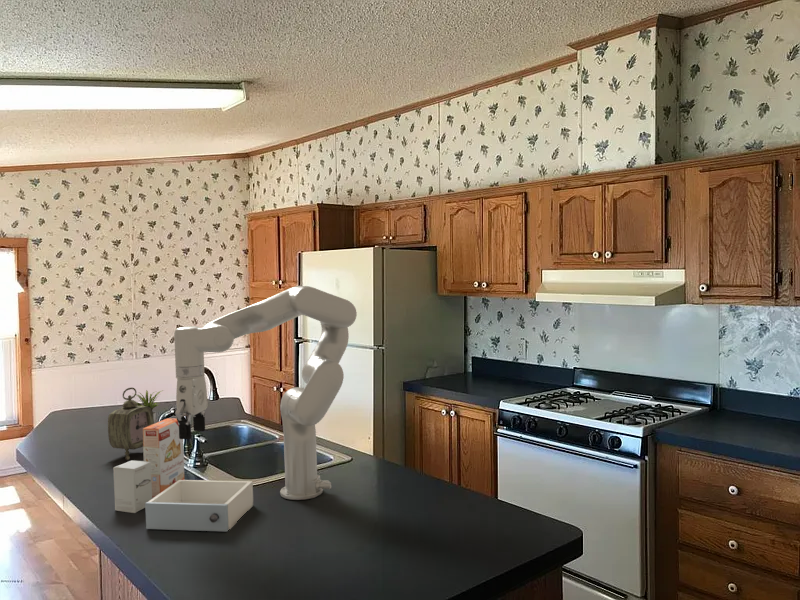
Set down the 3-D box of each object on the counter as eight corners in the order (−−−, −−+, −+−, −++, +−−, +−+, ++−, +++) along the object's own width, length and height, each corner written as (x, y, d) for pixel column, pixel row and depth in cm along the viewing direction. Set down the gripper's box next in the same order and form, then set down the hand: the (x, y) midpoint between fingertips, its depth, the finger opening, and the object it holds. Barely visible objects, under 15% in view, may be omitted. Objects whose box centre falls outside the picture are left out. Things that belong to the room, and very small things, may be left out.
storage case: (253, 505, 193) (252, 481, 192) (228, 530, 175) (227, 504, 175) (180, 503, 196) (179, 479, 195) (148, 528, 178) (147, 501, 178)
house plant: (154, 421, 302) (153, 384, 301) (173, 424, 293) (172, 387, 293) (125, 427, 290) (123, 390, 289) (144, 432, 282) (142, 393, 281)
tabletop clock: (128, 462, 239) (124, 392, 237) (107, 460, 242) (103, 391, 240) (155, 451, 252) (152, 384, 251) (135, 449, 255) (132, 383, 254)
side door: (228, 529, 175) (227, 504, 174) (225, 533, 173) (223, 507, 172) (148, 527, 178) (147, 501, 177) (144, 530, 176) (142, 504, 175)
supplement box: (135, 513, 189) (133, 469, 188) (114, 510, 191) (112, 466, 191) (153, 504, 196) (151, 461, 195) (133, 501, 198) (130, 459, 198)
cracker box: (162, 498, 201) (159, 428, 199) (144, 497, 202) (140, 428, 201) (186, 483, 214) (183, 417, 213) (169, 482, 216) (166, 417, 214)
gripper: (188, 377, 177) (191, 443, 178) (216, 366, 194) (218, 427, 195) (161, 377, 178) (164, 443, 179) (191, 366, 195) (193, 427, 196)
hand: (192, 434), depth 187 cm, fingers open, 8 cm apart
